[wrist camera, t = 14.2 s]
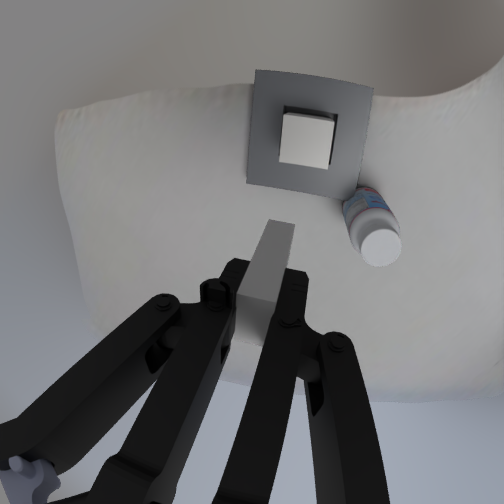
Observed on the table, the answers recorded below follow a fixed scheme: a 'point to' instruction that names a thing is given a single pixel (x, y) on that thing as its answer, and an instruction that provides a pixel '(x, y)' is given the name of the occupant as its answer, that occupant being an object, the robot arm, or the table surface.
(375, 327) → the table surface
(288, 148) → the plug
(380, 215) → the pill bottle
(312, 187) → the socket plate
